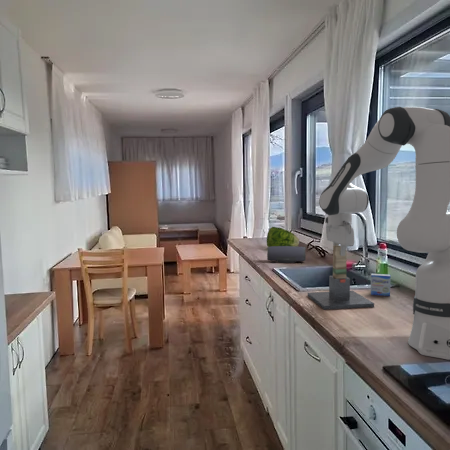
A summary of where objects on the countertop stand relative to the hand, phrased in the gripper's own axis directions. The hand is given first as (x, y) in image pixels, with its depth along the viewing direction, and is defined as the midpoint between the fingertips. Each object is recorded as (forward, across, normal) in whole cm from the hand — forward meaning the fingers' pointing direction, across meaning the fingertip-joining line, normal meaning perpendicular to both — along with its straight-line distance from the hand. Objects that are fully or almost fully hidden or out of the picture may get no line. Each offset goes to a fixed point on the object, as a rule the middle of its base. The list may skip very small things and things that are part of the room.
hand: (339, 254), depth 172 cm
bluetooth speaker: (+19, +88, -2) cm, 90 cm away
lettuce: (+19, +135, -12) cm, 137 cm away
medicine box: (+20, +7, -21) cm, 30 cm away
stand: (+19, 0, 0) cm, 19 cm away
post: (+13, 0, 0) cm, 13 cm away
